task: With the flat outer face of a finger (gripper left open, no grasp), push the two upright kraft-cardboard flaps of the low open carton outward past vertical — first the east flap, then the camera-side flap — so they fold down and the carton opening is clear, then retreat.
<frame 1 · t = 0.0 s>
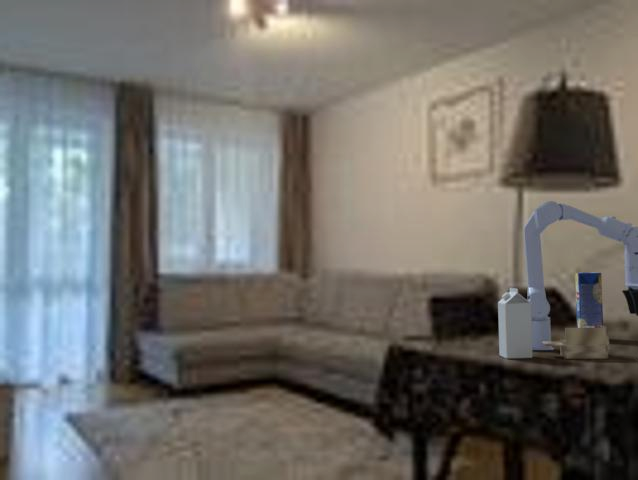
hand: (637, 314, 207), 10 cm above the table, fingers open, 7 cm apart
milk carton: (515, 357, 196), on the table
carton: (583, 356, 193), on the table
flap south: (585, 336, 189), point 6 cm above the table, hinge at 85.0°
beverage box: (590, 340, 233), on the table
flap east: (604, 334, 192), point 6 cm above the table, hinge at 85.0°
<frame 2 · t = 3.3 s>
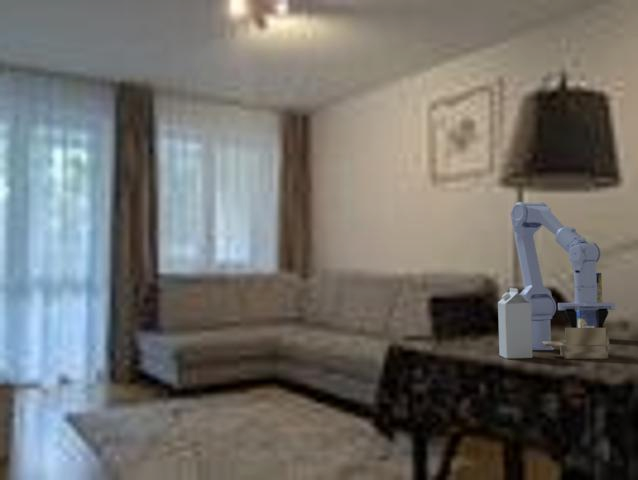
hand: (587, 336, 194), 5 cm above the table, fingers open, 5 cm apart
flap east: (604, 334, 192), point 6 cm above the table, hinge at 85.4°, touching gripper
everything else where it was.
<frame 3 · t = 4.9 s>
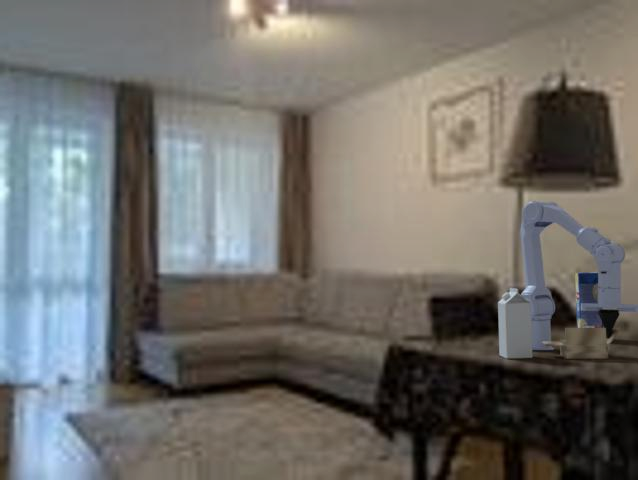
hand: (609, 338, 192), 5 cm above the table, fingers closed, pressing on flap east
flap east: (610, 336, 192), point 6 cm above the table, hinge at 126.4°, touching gripper
everything else where it was.
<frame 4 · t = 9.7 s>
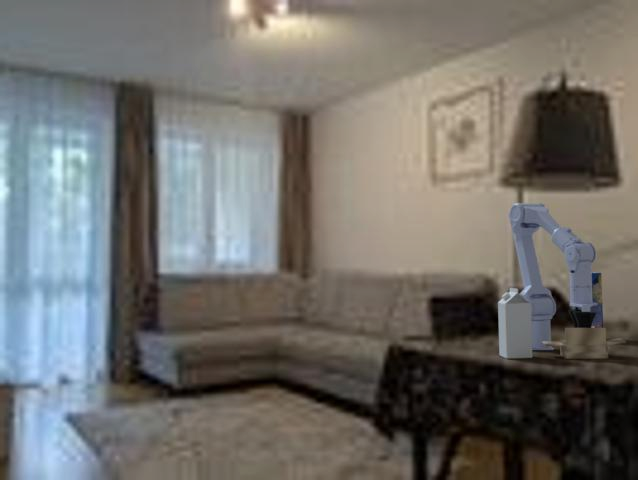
hand: (582, 336, 194), 5 cm above the table, fingers open, 6 cm apart
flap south: (585, 336, 189), point 6 cm above the table, hinge at 85.0°, touching gripper
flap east: (614, 341, 192), point 4 cm above the table, hinge at 170.8°
everything else where it was.
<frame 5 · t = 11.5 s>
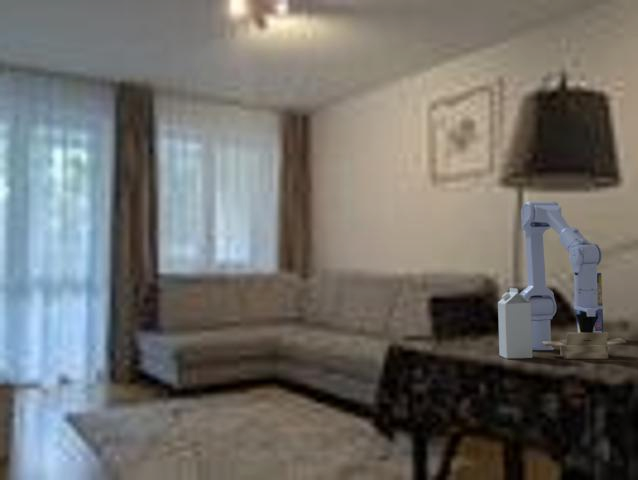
hand: (586, 340, 188), 5 cm above the table, fingers closed, pressing on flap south
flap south: (586, 338, 188), point 6 cm above the table, hinge at 130.2°, touching gripper
everything else where it was.
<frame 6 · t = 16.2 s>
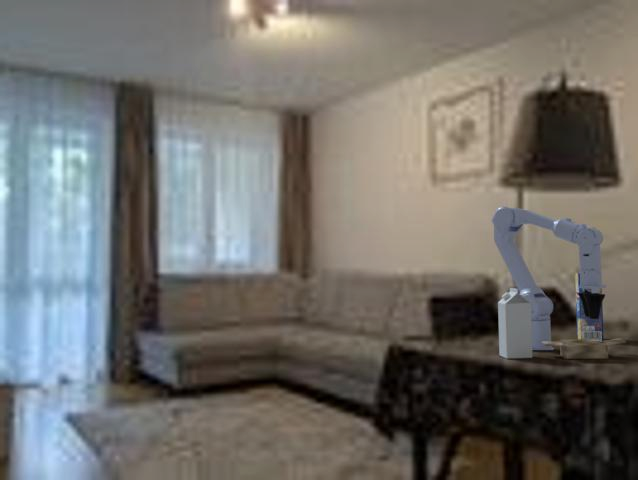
hand: (591, 317, 201), 10 cm above the table, fingers open, 7 cm apart
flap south: (587, 344, 187), point 4 cm above the table, hinge at 170.7°
everything else where it was.
at the end: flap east at +171° (first picture: +85°); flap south at +171° (first picture: +85°) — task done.
